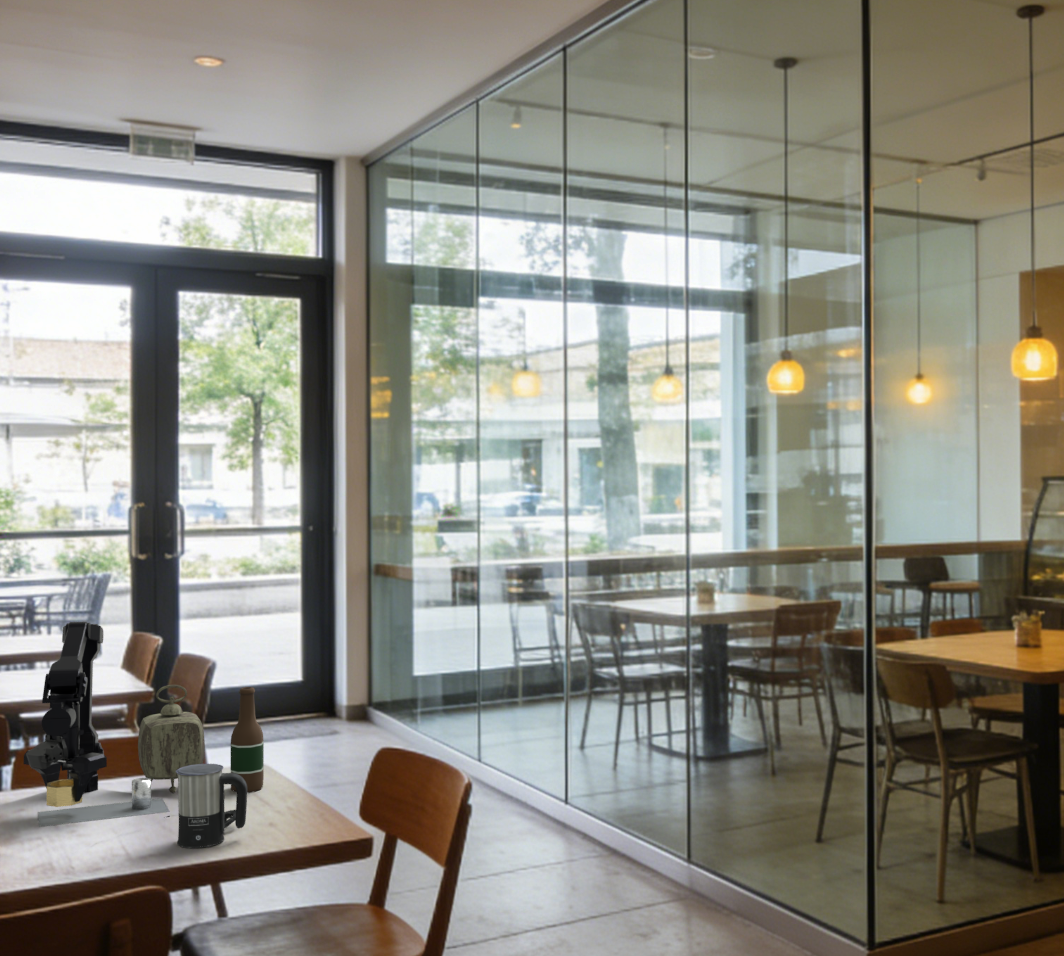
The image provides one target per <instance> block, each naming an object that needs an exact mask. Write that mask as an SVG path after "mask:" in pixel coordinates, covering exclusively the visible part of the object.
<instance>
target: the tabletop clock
mask: <svg viewBox="0 0 1064 956" xmlns="http://www.w3.org/2000/svg"><path fill="white" fill-rule="evenodd" d="M173 688H174V689H176V688H177V689H179V690H182V691H183V692H184V696H181V697H180V698H177V699H175V697H174V696H169V699H163V698H160V697H159V694H160V693H161V692H162V691H164V690H166V689H173ZM187 696H188V691H187V688H185V687H184V686H181V685H180V684H168V685H164V686H162V687H160V688H159V689H158V690H157V692H156V695H155V697H156V699H157V700H158V701H159V702H161V703H165V705H164V706H163V707H162V708H161V710H160V713H155V714H150V715H147V716H146V717H143V718H142V720H141V722H140V725H139V730H138V740H137V750H138V759H139V764H140V768H141V770H142V772H143V775H144V778H150V779H151V783H152V782H153V780H156V781H157V780H158V781H159V780H160V781H162V780H170V784H171V786H170V787H169V789H168V791H169V792H170V793H171V794H174V793H176V792H177V788H176V787H175V780H176V779H177V780H178V775H177V773H176V770H178V769H179V768H182V767H185V766H189V765H196V764H204V759H205V750H206V749H205V747H206V742H205V741H206V740H205V731H204V726H203V724H202V721H201V719H200V718H199V717H198V715H197V714H196V713H193V712H189V711H183V709H182V707H181V706H180V705H179V704H177V703H178V702H180V701H181V702H182V701H184V699H186V698H187Z"/></svg>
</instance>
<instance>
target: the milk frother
mask: <svg viewBox="0 0 1064 956" xmlns="http://www.w3.org/2000/svg"><path fill="white" fill-rule="evenodd" d="M223 769H224V765H221V764H218V763H203V764H196V765H189V766H185V767H182V768H179V769H178V770H176V773H177V775H178V778H177V781H178V782H177V785H178V789H177V791H178V792H177V793H178V794H177V795H178V798H177V799H178V804H177V805H178V806H177V807H178V831H177V832H178V836H177V837H178V838H177V841H176V844H177V846H179V847H181V848H187V849H199V848H200V849H201V848H208V847H212V846H215V845H218V844H220V843H223V841H224V840H225V836H224V832H225V830H226V828H227V827H229V826H230V825H232V824H233V823H234V822H235V823H234V824H235V827H236V828H237V829H242V828H244V826H245V825H246V820H247V805H248V792H247V784H246V782H245V780H244V779H243V778H242V777H241V776H240V775H238V774H235V773H231V772H223ZM225 785H230V786H231V785H233V786H235V788H236V790H237V792H236V800H235V801H236V805H235V809H229V810H227V811H225Z"/></svg>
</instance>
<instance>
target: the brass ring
mask: <svg viewBox="0 0 1064 956" xmlns="http://www.w3.org/2000/svg"><path fill="white" fill-rule="evenodd" d="M83 795H84V794H83ZM83 795H82V798H81V800H80V801H78V802H75V799H74V784H73V779H59V780H57V781H53V782H50V783H47V789H46V806H47V807H48V806H49V807H55V808H60V807H70V806H74V805H78V804H81V803H83Z"/></svg>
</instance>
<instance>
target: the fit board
mask: <svg viewBox="0 0 1064 956" xmlns="http://www.w3.org/2000/svg"><path fill="white" fill-rule="evenodd" d="M161 813H170V810H169V808H168V806H167V803H166V802H165V800H164V798H163V797H159V798H152V782H151V779H150V778H146V777H139V778H138V777H137V778H135V779H134V778H133V779H132V780H131V801H123V802H117V803H116V802H115V803H106V804H105V803H104V804H98V805H91V806H89V805H87V806H80V807H71V808H63V809H53V810H45V811H44V810H43V811H37V818H38V819H37V820H38V827H39V828H41V827H43V828H44V827H51V826H57V825H58V826H59V825H60V826H61V825H68V824H76V823H86V822H94V821H101V820H103V821H104V820H109V819H119V818H127V817H134V816H136V817H137V816H144V815H153V814H161ZM165 817H166V818H170V817H171V815H167V816H165ZM165 817H163V818H165Z"/></svg>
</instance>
